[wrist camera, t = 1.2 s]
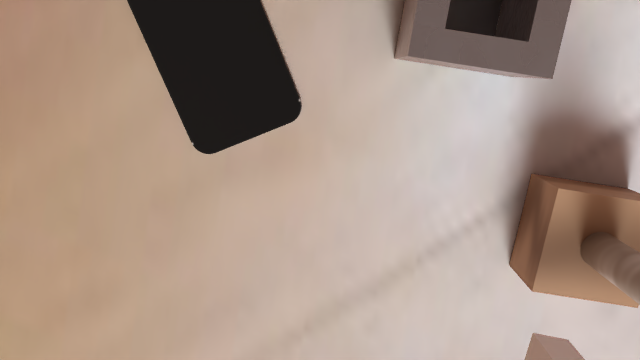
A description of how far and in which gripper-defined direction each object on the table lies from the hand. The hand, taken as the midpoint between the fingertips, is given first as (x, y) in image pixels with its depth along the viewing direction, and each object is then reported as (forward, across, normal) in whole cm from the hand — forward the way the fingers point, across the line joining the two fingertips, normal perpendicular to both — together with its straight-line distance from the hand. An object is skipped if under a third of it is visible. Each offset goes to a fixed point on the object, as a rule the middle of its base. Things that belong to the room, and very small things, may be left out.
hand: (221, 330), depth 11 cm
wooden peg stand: (+22, +17, -1) cm, 28 cm away
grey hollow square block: (+22, +8, +11) cm, 25 cm away
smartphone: (+22, -7, +7) cm, 24 cm away
